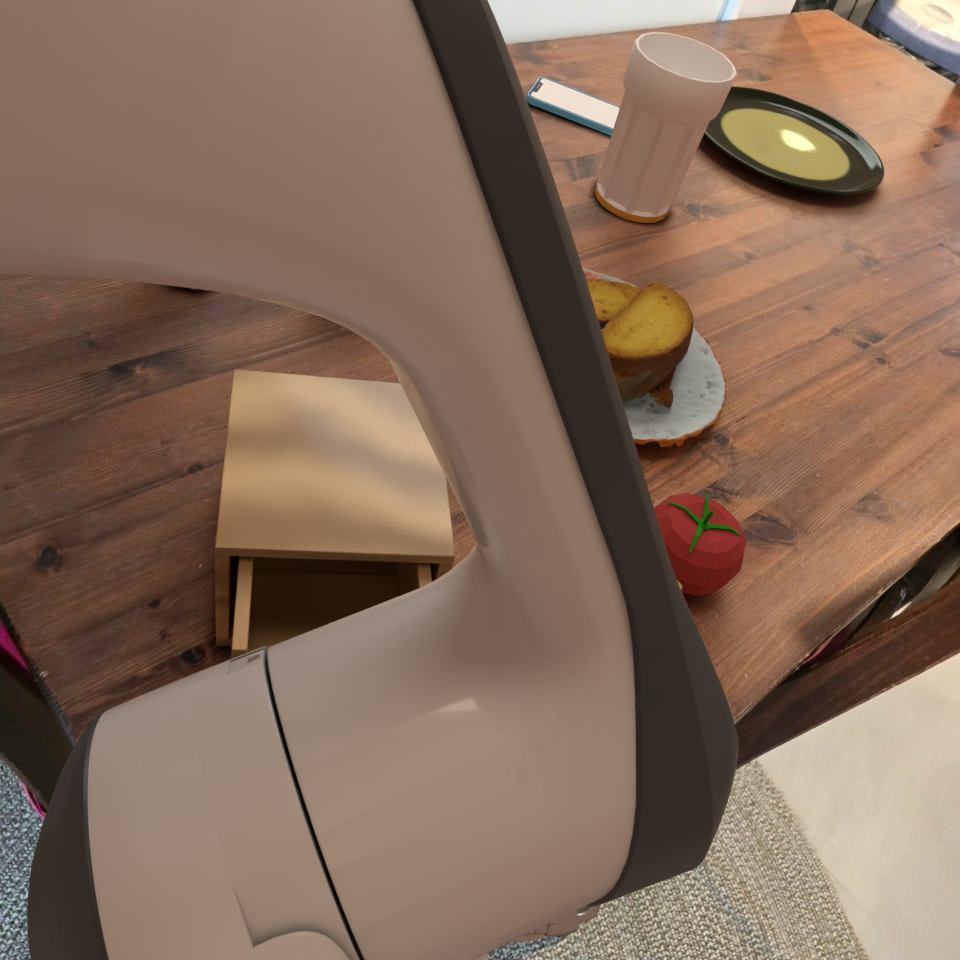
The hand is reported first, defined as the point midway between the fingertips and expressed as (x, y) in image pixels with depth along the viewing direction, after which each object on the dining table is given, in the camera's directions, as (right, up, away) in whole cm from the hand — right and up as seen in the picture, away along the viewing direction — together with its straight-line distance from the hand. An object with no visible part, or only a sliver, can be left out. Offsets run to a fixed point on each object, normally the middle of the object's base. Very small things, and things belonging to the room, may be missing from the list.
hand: (330, 787), depth 46 cm
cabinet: (-3, +11, +17) cm, 20 cm away
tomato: (+23, +9, +23) cm, 34 cm away
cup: (+26, +49, +60) cm, 82 cm away
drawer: (-2, +3, +9) cm, 9 cm away
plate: (+50, +62, +78) cm, 112 cm away
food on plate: (+18, +27, +38) cm, 50 cm away
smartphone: (+22, +65, +73) cm, 100 cm away
